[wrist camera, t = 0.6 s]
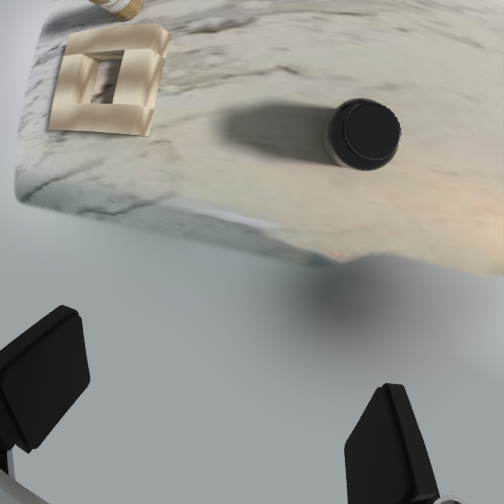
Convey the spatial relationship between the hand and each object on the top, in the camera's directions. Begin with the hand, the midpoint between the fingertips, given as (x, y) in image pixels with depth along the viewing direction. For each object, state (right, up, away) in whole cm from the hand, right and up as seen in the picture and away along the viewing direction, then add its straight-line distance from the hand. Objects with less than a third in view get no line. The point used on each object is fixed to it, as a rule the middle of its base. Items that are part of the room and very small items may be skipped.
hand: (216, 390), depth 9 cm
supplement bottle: (+12, +17, +25) cm, 32 cm away
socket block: (-17, +27, +26) cm, 41 cm away
